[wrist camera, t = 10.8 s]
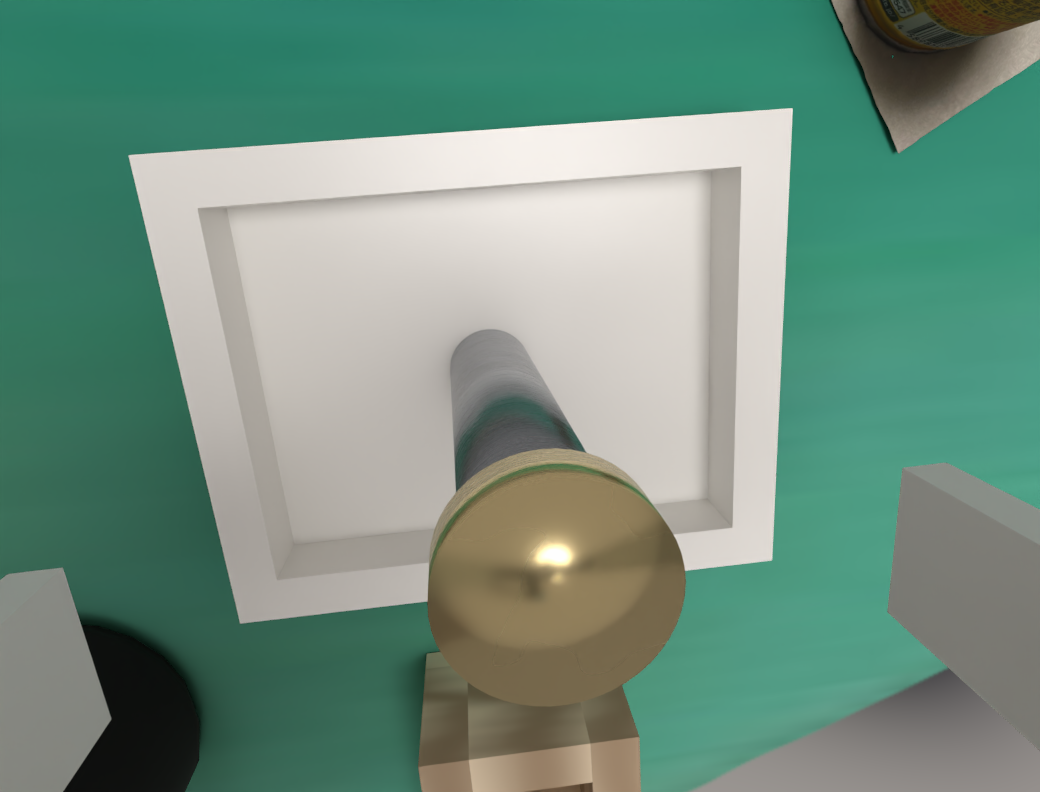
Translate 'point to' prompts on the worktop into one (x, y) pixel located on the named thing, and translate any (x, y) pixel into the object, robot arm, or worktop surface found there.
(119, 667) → the coffee jar
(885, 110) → the condiment
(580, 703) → the block
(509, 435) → the steel pin
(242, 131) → the worktop surface
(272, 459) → the tray
